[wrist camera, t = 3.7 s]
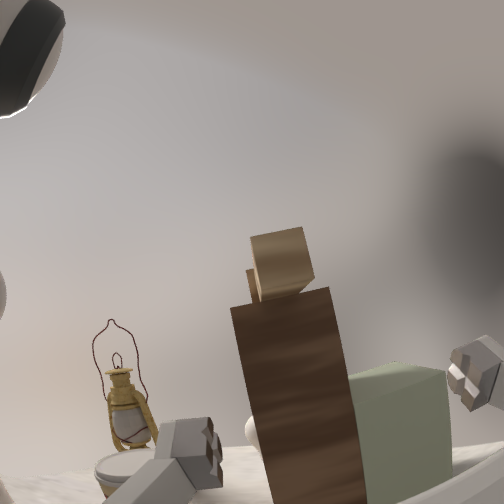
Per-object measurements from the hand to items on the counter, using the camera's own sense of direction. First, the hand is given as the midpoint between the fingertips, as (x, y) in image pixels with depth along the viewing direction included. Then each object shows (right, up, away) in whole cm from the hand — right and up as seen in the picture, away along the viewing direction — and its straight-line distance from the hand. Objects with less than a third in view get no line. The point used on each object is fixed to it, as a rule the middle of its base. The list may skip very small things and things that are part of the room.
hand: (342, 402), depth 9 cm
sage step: (+13, -23, +16) cm, 31 cm away
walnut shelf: (+5, -25, +16) cm, 30 cm away
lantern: (-22, -36, +37) cm, 56 cm away
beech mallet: (-1, +1, +18) cm, 18 cm away
